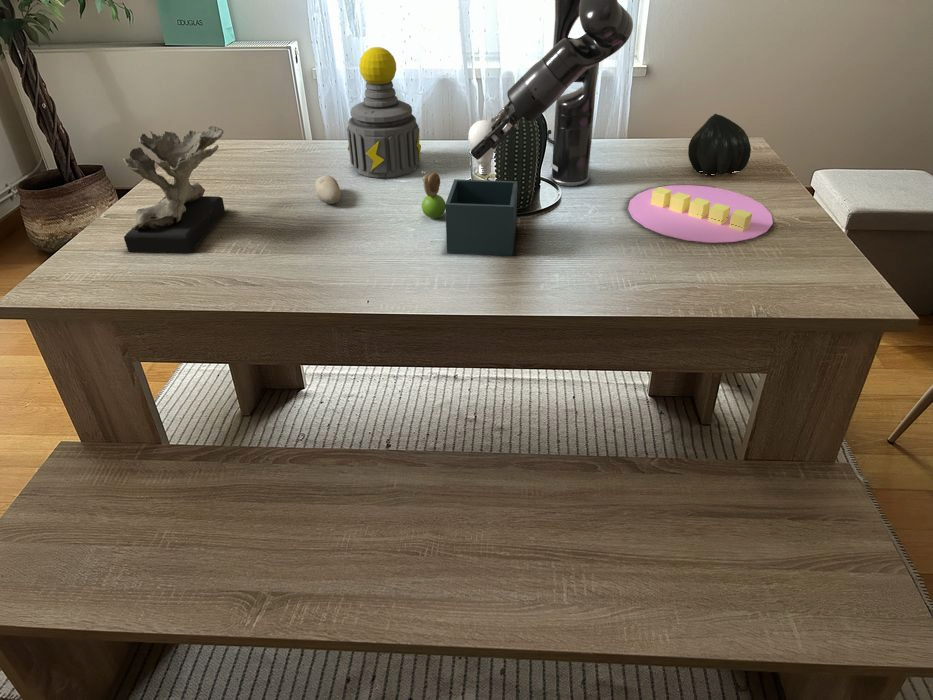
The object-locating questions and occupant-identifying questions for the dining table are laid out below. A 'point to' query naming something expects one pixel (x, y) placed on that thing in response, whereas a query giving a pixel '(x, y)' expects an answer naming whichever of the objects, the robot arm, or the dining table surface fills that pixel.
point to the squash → (719, 147)
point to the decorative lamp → (382, 123)
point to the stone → (328, 189)
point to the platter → (700, 213)
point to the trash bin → (481, 217)
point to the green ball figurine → (432, 196)
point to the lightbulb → (475, 137)
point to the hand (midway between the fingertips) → (476, 149)
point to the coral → (174, 193)
